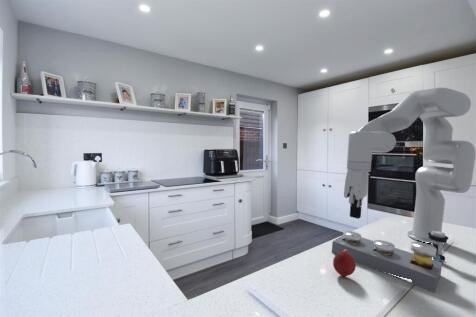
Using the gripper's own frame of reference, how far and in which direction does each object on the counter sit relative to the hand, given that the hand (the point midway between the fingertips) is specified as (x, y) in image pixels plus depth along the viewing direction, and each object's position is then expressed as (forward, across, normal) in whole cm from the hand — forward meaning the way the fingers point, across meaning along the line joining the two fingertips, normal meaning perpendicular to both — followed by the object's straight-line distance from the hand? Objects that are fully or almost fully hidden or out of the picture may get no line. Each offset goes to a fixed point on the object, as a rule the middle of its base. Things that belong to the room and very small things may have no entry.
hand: (355, 217), depth 82 cm
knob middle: (+12, +1, +10) cm, 16 cm away
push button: (+13, -16, +22) cm, 30 cm away
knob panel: (+13, +1, +10) cm, 16 cm away
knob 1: (+12, +1, 0) cm, 12 cm away
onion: (+12, +20, +5) cm, 24 cm away
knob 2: (+9, +1, +20) cm, 22 cm away
